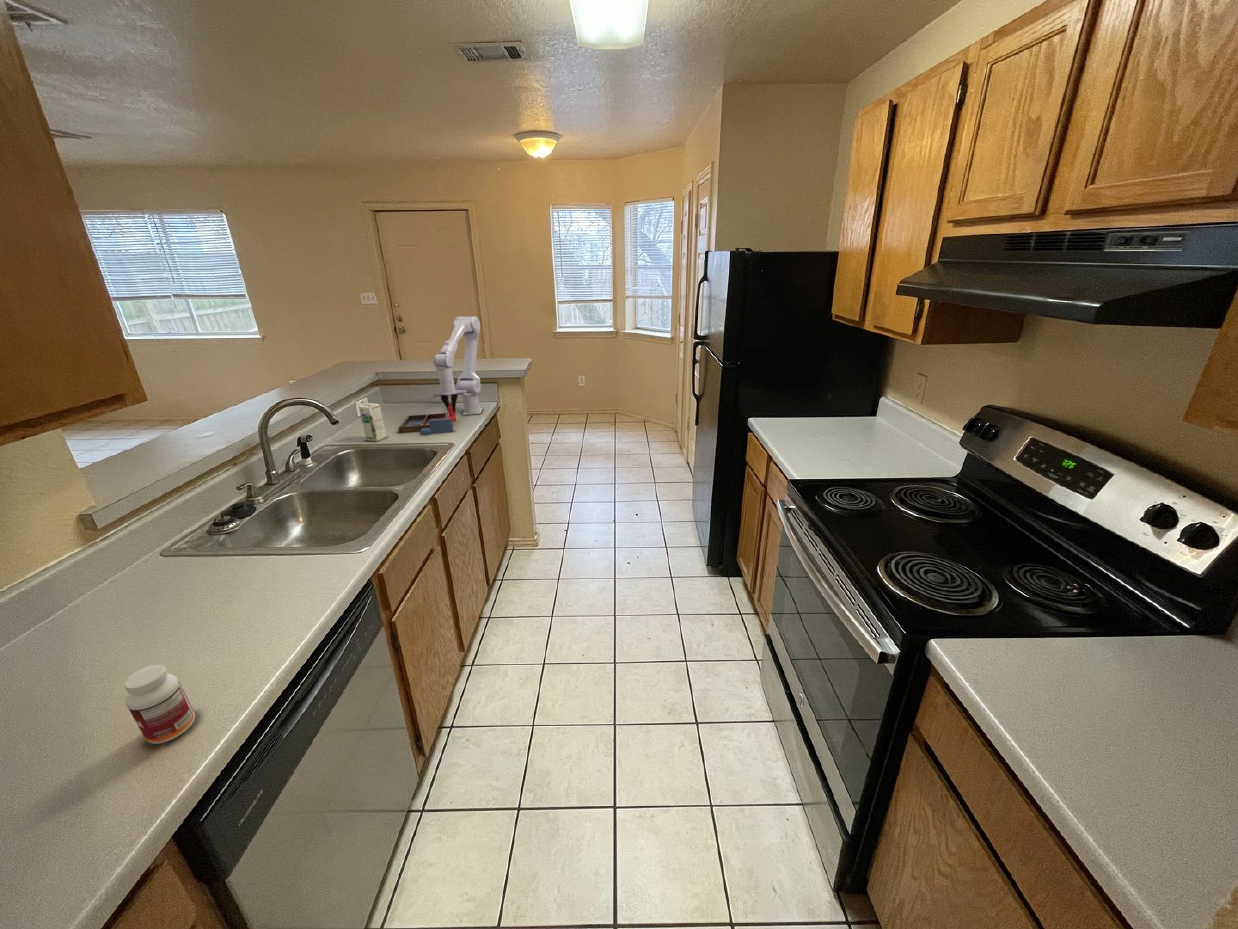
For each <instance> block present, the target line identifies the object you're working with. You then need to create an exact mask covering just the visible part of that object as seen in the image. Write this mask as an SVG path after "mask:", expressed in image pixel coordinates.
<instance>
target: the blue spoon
mask: <svg viewBox="0 0 1238 929" xmlns="http://www.w3.org/2000/svg"><path fill="white" fill-rule="evenodd" d="M429 425H430V428H423V429H421V431H420V433H421V435H422V436H427V435H432V434H442V433H453V432H454V424H453V422H452V418H446V419H433V420H429Z"/></svg>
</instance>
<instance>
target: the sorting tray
mask: <svg viewBox="0 0 1238 929" xmlns="http://www.w3.org/2000/svg"><path fill="white" fill-rule="evenodd" d="M447 416H449V413H448V412H441V413H428V414H427V413H425V414H415V415H407V416H406V417H405V419H403V421H402V422H401V424H400V425H399V426H398V430H399V434H403V433H404V434H405V433H415V432H416V433H418V432H421V429H423V428H430V425H429V420H433V419H445V417H447Z"/></svg>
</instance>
